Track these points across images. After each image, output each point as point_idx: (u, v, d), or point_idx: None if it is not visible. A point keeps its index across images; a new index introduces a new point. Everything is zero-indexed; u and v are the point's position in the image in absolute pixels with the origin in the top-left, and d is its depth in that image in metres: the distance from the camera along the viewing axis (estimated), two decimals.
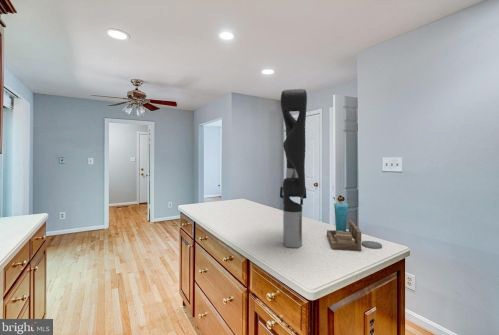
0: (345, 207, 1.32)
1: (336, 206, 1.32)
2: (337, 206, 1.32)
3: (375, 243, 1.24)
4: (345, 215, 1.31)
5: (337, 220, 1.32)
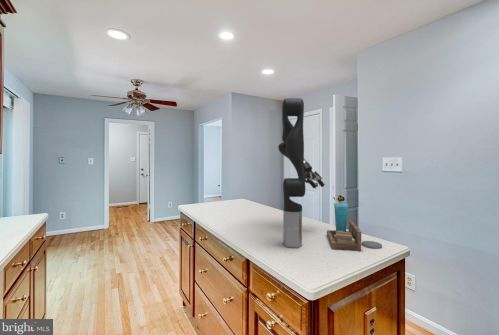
0: (345, 207, 1.32)
1: (336, 206, 1.32)
2: (337, 206, 1.32)
3: (375, 243, 1.24)
4: (345, 215, 1.31)
5: (337, 220, 1.32)
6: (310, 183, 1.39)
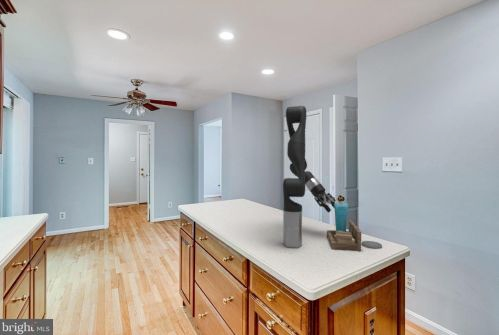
0: (345, 207, 1.32)
1: (336, 206, 1.32)
2: (337, 206, 1.32)
3: (375, 243, 1.24)
4: (345, 215, 1.31)
5: (337, 220, 1.32)
6: (324, 207, 1.34)
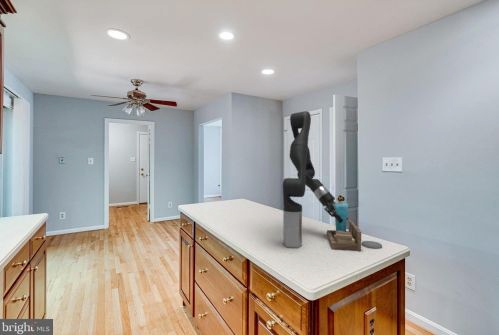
0: (345, 207, 1.32)
1: (336, 206, 1.32)
2: (337, 206, 1.32)
3: (375, 243, 1.24)
4: (345, 215, 1.31)
5: (337, 220, 1.32)
6: (336, 217, 1.30)
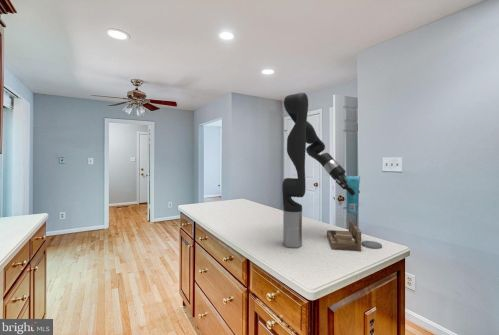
0: (357, 179, 1.28)
1: (348, 178, 1.28)
2: (349, 178, 1.28)
3: (375, 243, 1.24)
4: (357, 188, 1.27)
5: (348, 193, 1.28)
6: (348, 190, 1.27)
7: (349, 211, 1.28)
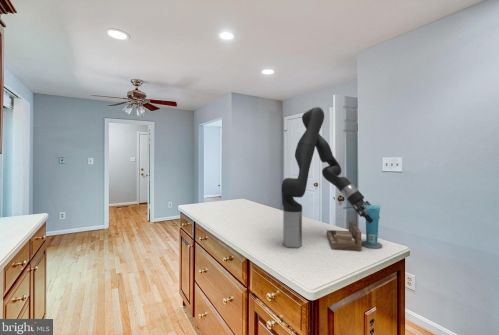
0: (377, 209, 1.22)
1: (367, 208, 1.23)
2: (368, 208, 1.23)
3: None
4: (377, 218, 1.22)
5: (368, 223, 1.22)
6: (365, 217, 1.20)
7: (368, 242, 1.22)
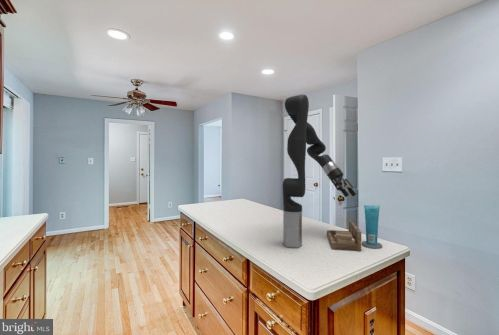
0: (377, 209, 1.22)
1: (367, 208, 1.23)
2: (368, 208, 1.23)
3: None
4: (376, 218, 1.22)
5: (367, 223, 1.22)
6: (342, 191, 1.28)
7: (368, 242, 1.23)
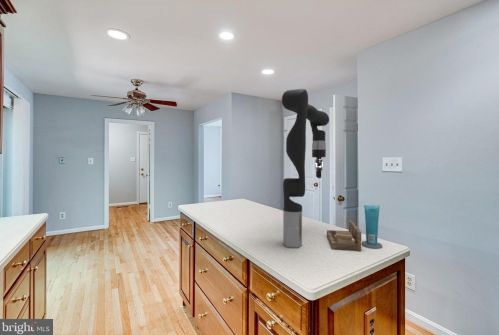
0: (377, 209, 1.22)
1: (367, 208, 1.23)
2: (368, 208, 1.23)
3: None
4: (376, 218, 1.22)
5: (367, 223, 1.22)
6: (318, 172, 1.38)
7: (368, 242, 1.22)
